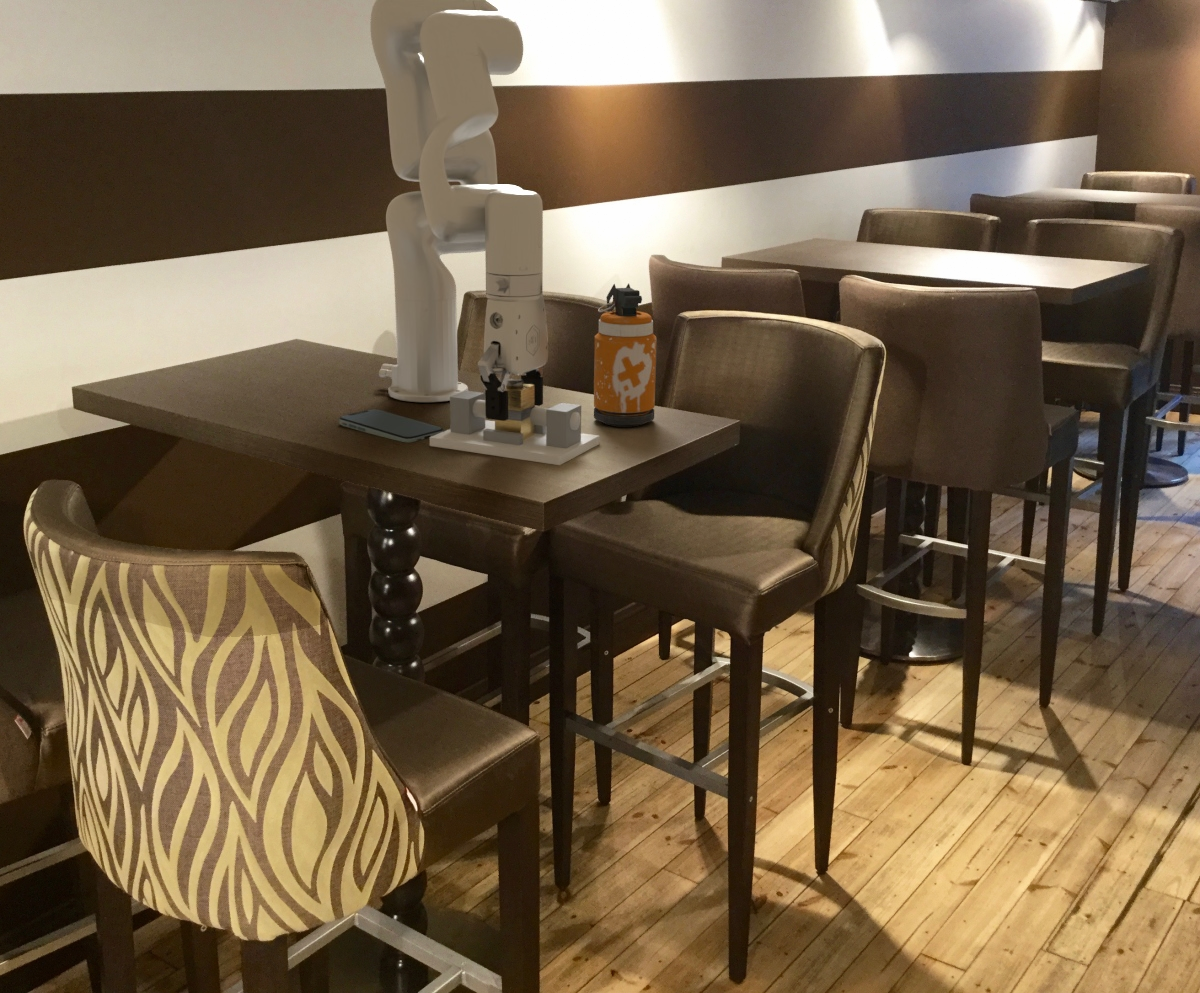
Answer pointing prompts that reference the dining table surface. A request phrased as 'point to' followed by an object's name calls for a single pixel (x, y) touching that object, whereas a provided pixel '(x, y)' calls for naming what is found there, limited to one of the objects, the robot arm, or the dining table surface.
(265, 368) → the dining table surface
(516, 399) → the block
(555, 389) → the dining table surface
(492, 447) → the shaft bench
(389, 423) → the smartphone
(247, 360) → the dining table surface
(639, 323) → the canister
